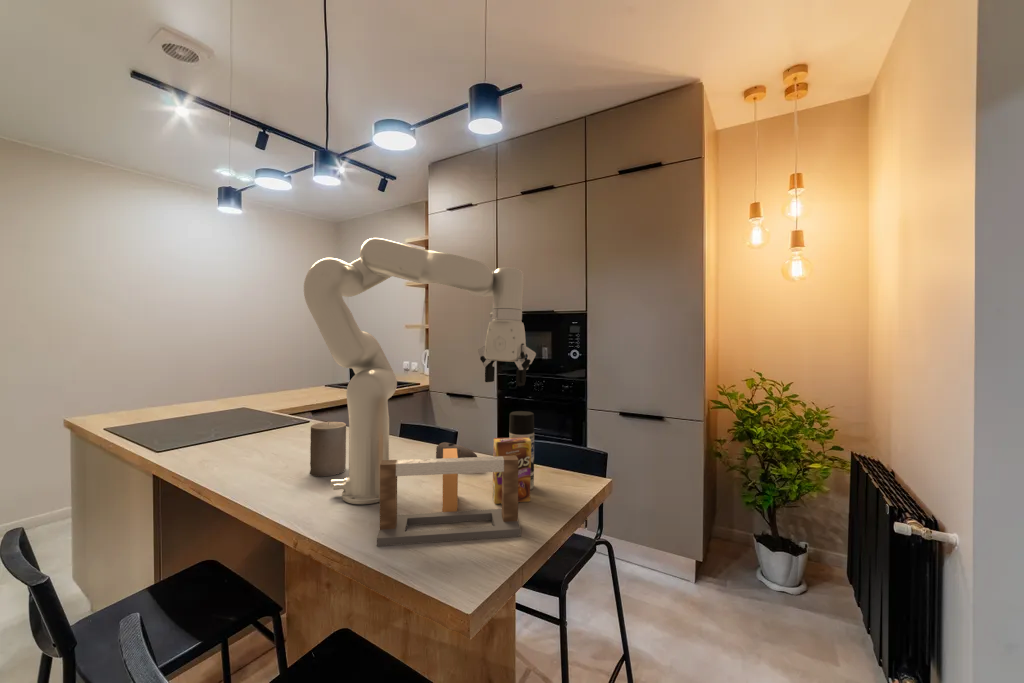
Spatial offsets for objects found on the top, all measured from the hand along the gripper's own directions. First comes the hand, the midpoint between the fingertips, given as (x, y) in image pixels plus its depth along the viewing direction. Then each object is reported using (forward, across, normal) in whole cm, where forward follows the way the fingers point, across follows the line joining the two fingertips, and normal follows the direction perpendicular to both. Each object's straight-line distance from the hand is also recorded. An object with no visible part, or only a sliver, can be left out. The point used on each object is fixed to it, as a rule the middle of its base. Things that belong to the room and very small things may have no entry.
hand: (504, 383), depth 104 cm
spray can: (+28, +2, +7) cm, 29 cm away
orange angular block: (+29, -6, -12) cm, 32 cm away
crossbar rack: (+29, +3, -22) cm, 36 cm away
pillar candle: (+30, -51, -16) cm, 61 cm away
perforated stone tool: (+29, -22, +9) cm, 38 cm away
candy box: (+28, +5, -2) cm, 29 cm away
